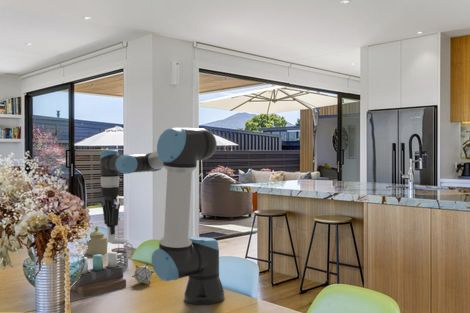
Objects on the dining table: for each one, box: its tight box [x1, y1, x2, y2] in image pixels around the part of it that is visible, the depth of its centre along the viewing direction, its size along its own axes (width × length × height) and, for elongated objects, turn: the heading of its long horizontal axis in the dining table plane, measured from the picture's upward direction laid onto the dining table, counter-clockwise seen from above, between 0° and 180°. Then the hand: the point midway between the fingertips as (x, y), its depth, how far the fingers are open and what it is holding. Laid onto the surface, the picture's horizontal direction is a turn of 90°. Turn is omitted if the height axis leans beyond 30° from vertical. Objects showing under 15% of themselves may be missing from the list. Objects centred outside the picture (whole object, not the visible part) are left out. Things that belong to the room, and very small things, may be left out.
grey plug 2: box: [106, 251, 118, 268], centre depth 197 cm, size 4×4×6 cm
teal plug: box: [92, 254, 104, 271], centre depth 193 cm, size 4×4×6 cm
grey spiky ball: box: [131, 263, 155, 286], centre depth 198 cm, size 9×8×10 cm
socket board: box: [70, 265, 127, 297], centre depth 193 cm, size 14×19×8 cm
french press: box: [110, 217, 134, 273], centre depth 221 cm, size 10×12×25 cm
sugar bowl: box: [86, 226, 108, 256], centre depth 260 cm, size 15×11×15 cm
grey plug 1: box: [82, 256, 89, 274], centre depth 189 cm, size 4×4×6 cm
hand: (111, 241), depth 197 cm, fingers closed
